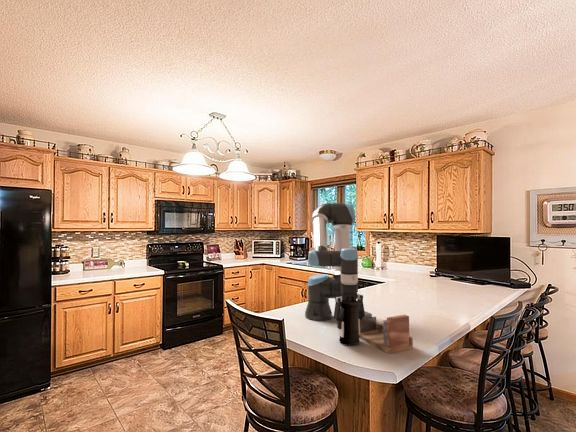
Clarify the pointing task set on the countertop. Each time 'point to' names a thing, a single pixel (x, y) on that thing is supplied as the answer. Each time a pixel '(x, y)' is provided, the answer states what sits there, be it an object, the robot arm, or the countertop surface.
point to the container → (350, 324)
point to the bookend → (368, 323)
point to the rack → (390, 335)
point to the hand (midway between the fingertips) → (349, 334)
